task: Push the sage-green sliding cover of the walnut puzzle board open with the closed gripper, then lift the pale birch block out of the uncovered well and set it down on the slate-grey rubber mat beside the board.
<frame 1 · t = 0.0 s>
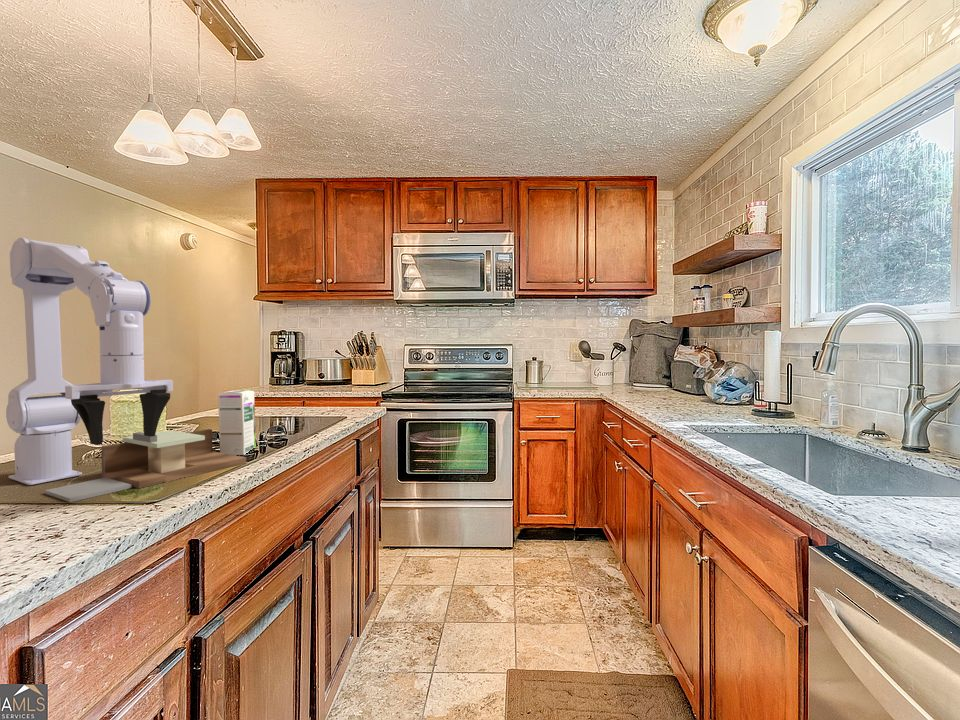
hand: (124, 439, 79), 10 cm above the countertop, fingers open, 7 cm apart
cover: (164, 435, 97), point 7 cm above the countertop, slide at 0.0 cm
syrup box: (237, 454, 114), on the countertop
mat: (89, 490, 85), on the countertop
block: (167, 473, 97), resting in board
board: (178, 470, 99), on the countertop
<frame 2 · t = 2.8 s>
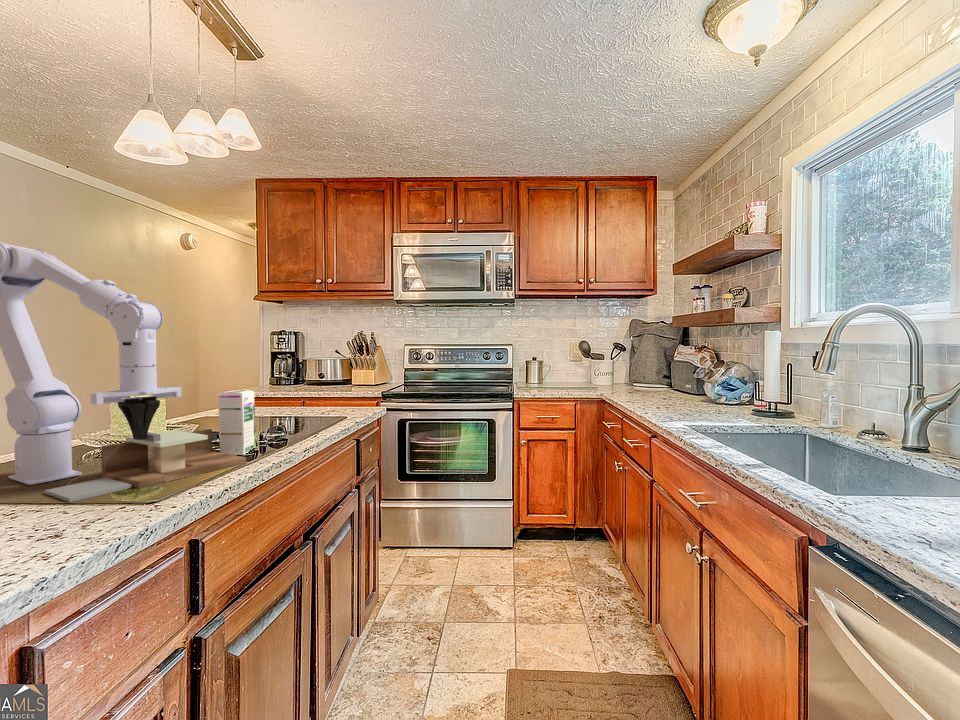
hand: (139, 438, 92), 8 cm above the countertop, fingers closed
cover: (167, 435, 97), point 7 cm above the countertop, slide at 0.6 cm, touching gripper
everything else where it was.
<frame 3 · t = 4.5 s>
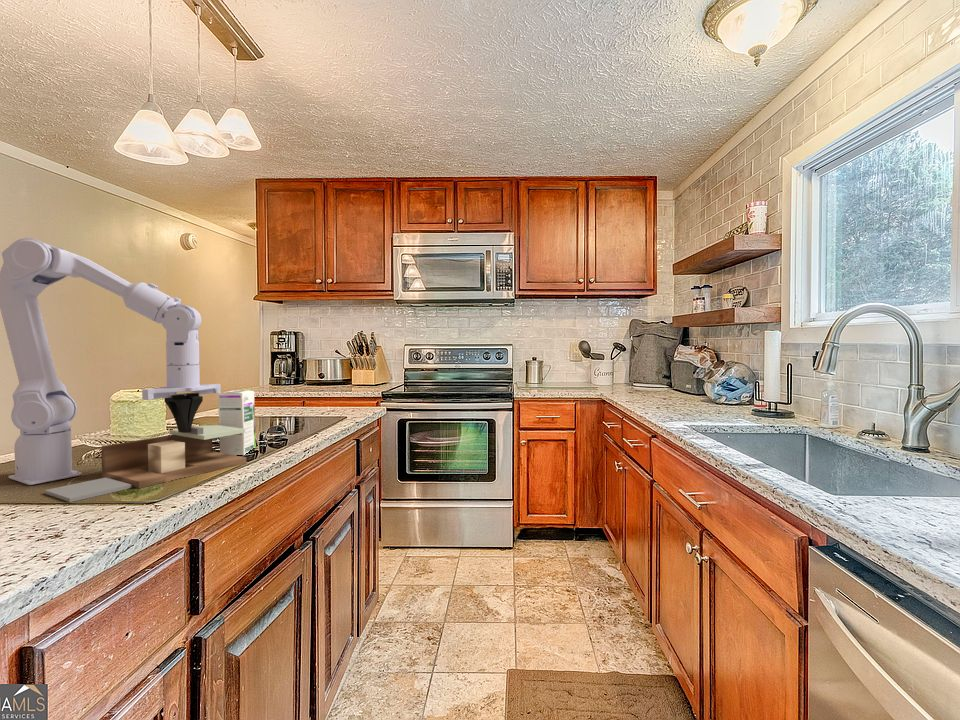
hand: (184, 432, 100), 8 cm above the countertop, fingers closed
cover: (207, 428, 105), point 7 cm above the countertop, slide at 8.9 cm, touching gripper
everything else where it was.
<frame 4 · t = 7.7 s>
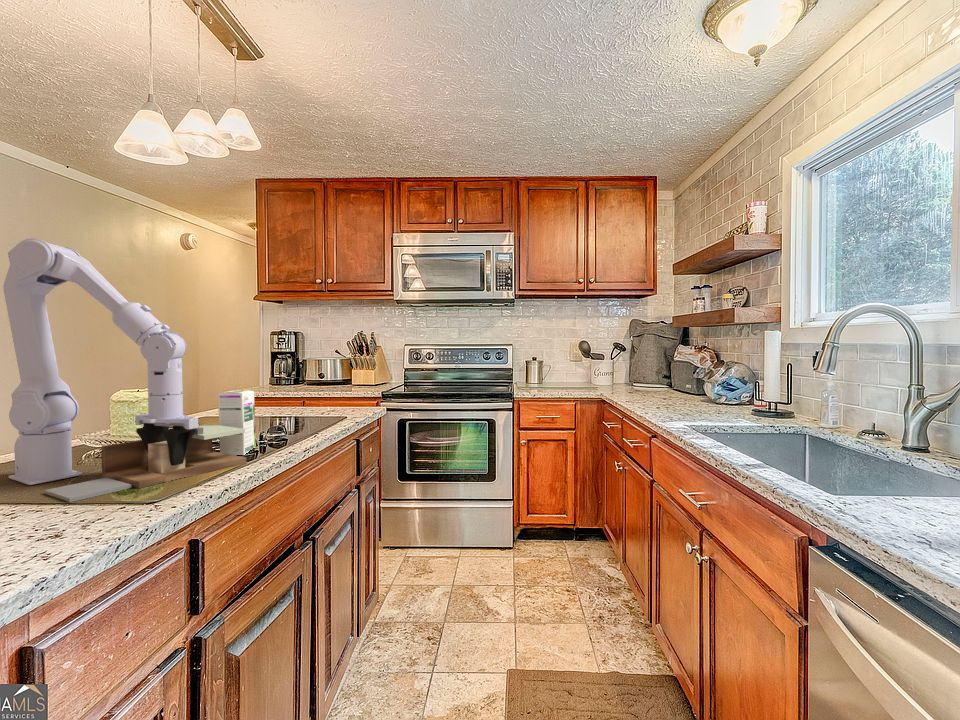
hand: (166, 463, 97), 2 cm above the countertop, fingers closed on block, 5 cm apart
cover: (207, 428, 105), point 7 cm above the countertop, slide at 8.9 cm
block: (167, 473, 97), resting in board, touching gripper
everything else where it was.
when the fingers open (4 cm above the countertop, at t = 12.5 s): block stays where it is, resting on mat.
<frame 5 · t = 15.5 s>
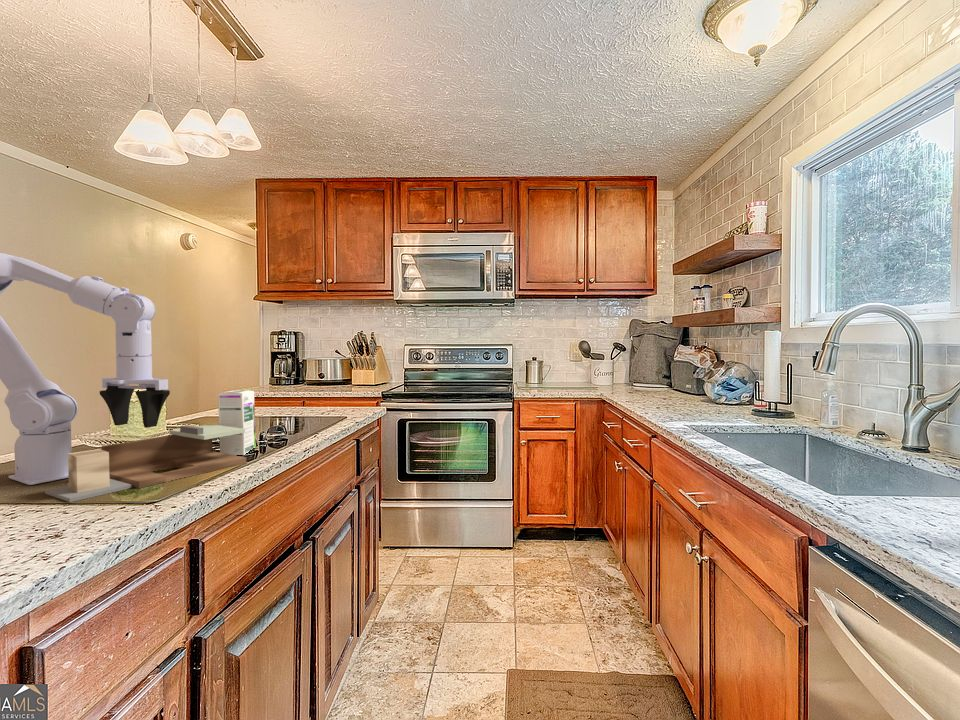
hand: (135, 425, 96), 9 cm above the countertop, fingers open, 7 cm apart
block: (89, 487, 85), point 1 cm above the countertop, touching mat
everything else where it was.
at the end: cover slide at 8.9 cm; block inside the target area (0.0 cm from its centre), point 0.6 cm above the countertop; block tilted 0° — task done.
